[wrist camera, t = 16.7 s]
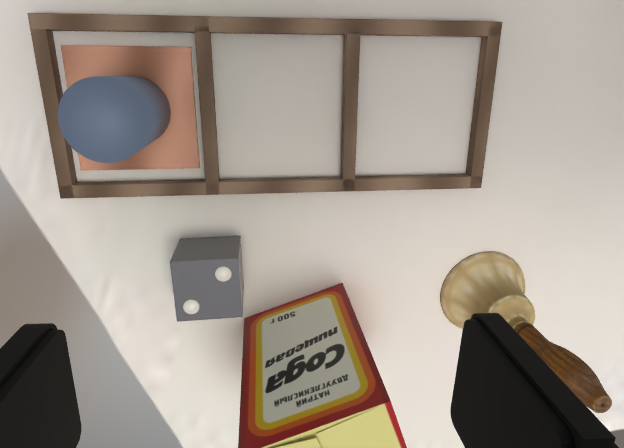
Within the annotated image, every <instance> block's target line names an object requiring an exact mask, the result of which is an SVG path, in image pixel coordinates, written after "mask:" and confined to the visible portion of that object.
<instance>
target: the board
mask: <svg viewBox="0 0 624 448" xmlns="http://www.w3.org/2000/svg"><path fill="white" fill-rule="evenodd" d="M28 19H29V24H30V30H31V36H32V41H33V47H34V52H35V58H36V64H37V69H38V75H39V80H40V86H41V91H42V97H43V103H44V108H45V114H46V119H47V125H48V130H49V136H50V142H51V147H52V153H53V158H54V164H55V170H56V175H57V181H58V186H59V192H60V197H61V198H97V197H137V196H177V195H217V194H257V193H297V192H337V191H377V190H417V189H457V188H481V184H482V176H483V168H484V160H485V153H486V145H487V137H488V129H489V121H490V114H491V106H492V98H493V90H494V83H495V75H496V67H497V59H498V51H499V44H500V36H501V28H502V22H479V21H426V20H373V19H320V18H267V17H214V16H161V15H108V14H55V13H28ZM52 30H53V31H121V32H188V33H195V42H196V56H197V70H198V84H199V98H200V111H201V125H202V139H203V153H204V167H205V180H167V181H119V182H77V179H76V173H75V167H74V161H73V155H72V149H71V146H70V145H69V143H68V142H67V141H66V139H65V138H64V136H63V134H62V132H61V129H60V126H59V122H58V107H59V103H60V100H61V98H62V96H63V94H62V88H61V82H60V76H59V70H58V64H57V58H56V52H55V46H54V40H53V34H52ZM210 33H255V34H322V35H344V70H343V108H342V146H341V177H308V178H261V179H219V164H218V148H217V132H216V116H215V100H214V83H213V67H212V51H211V35H210ZM360 35H390V36H457V37H482V41H481V49H480V58H479V67H478V75H477V84H476V92H475V101H474V110H473V118H472V127H471V135H470V144H469V153H468V161H467V170H466V174H449V175H402V176H355V163H356V135H357V108H358V80H359V53H360ZM61 50H62V56H63V63H64V69H65V75H66V81H67V87H68V88H69V87H70V86H71V85H72V84H74V83H75V82H77V81H79V80H81V79H84V78H87V77H95V76H140V77H144V78H147V79H149V80H151V81H152V82H154V83H155V84H157V85H158V86H159V87H160V88H161V89H162V91H163V92H164V93H165V95H166V97H167V99H168V101H169V105H170V110H171V116H170V122H169V125H168V127H167V129H166V131H165V132H164V133H163V134H162V135H161V136H160V137H159V138H157V139H156V140H154V141H153V142H152V143H150V144H149V145H147V146H146V147H144V148H143V149H141V150H140V151H138V152H137V153H136V154H134V155H133V156H131V157H130V158H128V159H126V160H123V161H120V162H116V163H101V162H96V161H93V160H90V159H88V158H86V157H84V156H82V155H81V154H79V153H78V156H79V162H80V168H81V170H122V169H176V168H200V165H199V152H198V139H197V126H196V112H195V99H194V86H193V72H192V59H191V47H141V46H61Z"/></svg>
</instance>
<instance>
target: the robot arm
mask: <svg viewBox="0 0 624 448" xmlns="http://www.w3.org/2000/svg"><path fill="white" fill-rule="evenodd" d="M451 419H452V422H453V425H454V427H455V429H456V431H457V433H458V435H459V437H460V439H461V441H462V443H463V444H464V446H465V448H619V447H618V446H617V445H616V444H615V443H614V441H615V437H614V436H613V435H612V434H611V433H610V431H609V430H608V429H607V428H606V427H605V426H604V425H603V424H602V423H601V422H600V421H599V420H598V419H597V418H596V416H595V415H594V414H593V413H592V412H591V411H590V410H589V409H588V408H587V407H586V406H585V405H584V404H583V403H582V401H581V400H580V399H579V398H578V397H577V396H576V395H575V394H574V393H573V392H572V391H571V390H570V389H569V388H568V387H567V385H566V384H565V383H564V382H563V381H562V380H561V379H560V378H559V377H558V376H557V375H556V374H555V373H554V372H553V370H552V369H551V368H550V367H549V366H548V365H547V364H546V363H545V362H544V361H543V360H542V359H541V358H540V357H539V355H538V354H537V353H536V352H535V351H534V350H533V349H532V348H531V347H530V346H529V345H528V344H527V343H526V342H525V340H524V339H523V338H522V337H521V336H520V335H519V334H518V333H517V332H516V331H515V330H514V329H513V328H512V327H511V326H510V324H509V323H508V322H507V321H506V320H505V319H504V318H503V317H502V316H501V315H500V314H499V313H474V314H473V315H472V316H471V319H467V320H465V322H464V326H463V332H462V339H461V345H460V352H459V358H458V365H457V371H456V377H455V384H454V390H453V397H452V403H451ZM80 435H81V421H80V415H79V410H78V404H77V399H76V392H75V387H74V381H73V376H72V370H71V364H70V359H69V353H68V347H67V341H66V336H65V333H64V331H63V330H57V328H56V326H55V325H54V324H25V325H23V326H22V327H21V328H20V329H19V330H18V331H17V332H16V333H15V334H14V335H13V336H12V337H11V338H10V339H9V340H8V341H7V342H6V343H5V344H4V346H2V348H1V349H0V448H76V446H77V444H78V442H79V439H80Z"/></svg>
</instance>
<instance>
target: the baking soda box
mask: <svg viewBox="0 0 624 448" xmlns="http://www.w3.org/2000/svg"><path fill="white" fill-rule="evenodd" d="M238 448H407V447H406V444H405V441H404V438H403V436H402V433H401V430H400V427H399V424H398V421H397V418H396V415H395V412H394V409H393V407H392V404H391V401H390V398H389V396H388V394H387V391H386V389H385V386H384V384H383V381H382V379H381V376H380V374H379V371H378V369H377V367H376V364H375V362H374V359H373V357H372V354H371V352H370V349H369V347H368V345H367V342H366V340H365V337H364V335H363V332H362V330H361V327H360V325H359V323H358V320H357V318H356V315H355V313H354V310H353V308H352V305H351V303H350V300H349V298H348V296H347V293H346V291H345V288H344V286H343V283H341V284H338V285H336V286H333V287H330V288H327V289H324V290H322V291H319V292H316V293H313V294H311V295H308V296H305V297H302V298H300V299H297V300H294V301H291V302H289V303H286V304H283V305H280V306H277V307H275V308H272V309H269V310H266V311H264V312H261V313H258V314H255V315H253V316H250V317H247V318H244V337H243V358H242V380H241V401H240V423H239V444H238Z"/></svg>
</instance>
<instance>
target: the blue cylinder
mask: <svg viewBox="0 0 624 448" xmlns="http://www.w3.org/2000/svg"><path fill="white" fill-rule="evenodd" d="M170 116H171V110H170V105H169V101H168V99H167V97H166V95H165V93H164V92H163V91H162V89H161V88H160V87H159V86H158V85H157V84H155V83H154V82H152V81H151V80H149V79H147V78H144V77H140V76H95V77H87V78H84V79H81V80H79V81H77V82H75V83H74V84H72V85H71V86H70V87H69V88H68V89H67V90H66V91H65V93H64V94H63V96H62V98H61V100H60V103H59V107H58V122H59V126H60V129H61V132H62V134H63V136H64V138H65V139H66V141H67V142H68V143H69V145H70V146H71V147H72V148H73V149H74V150H75V151H76V152H78V153H79V154H81V155H82V156H84V157H86V158H88V159H90V160H93V161H96V162H101V163H116V162H120V161H123V160H126V159H128V158H130V157H131V156H133V155H134V154H136V153H137V152H138V151H140V150H141V149H143V148H144V147H146V146H147V145H149V144H150V143H152V142H153V141H154V140H156V139H157V138H159V137H160V136H161V135H162V134H163V133H164V132H165V131H166V129H167V127H168V125H169V122H170Z"/></svg>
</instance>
